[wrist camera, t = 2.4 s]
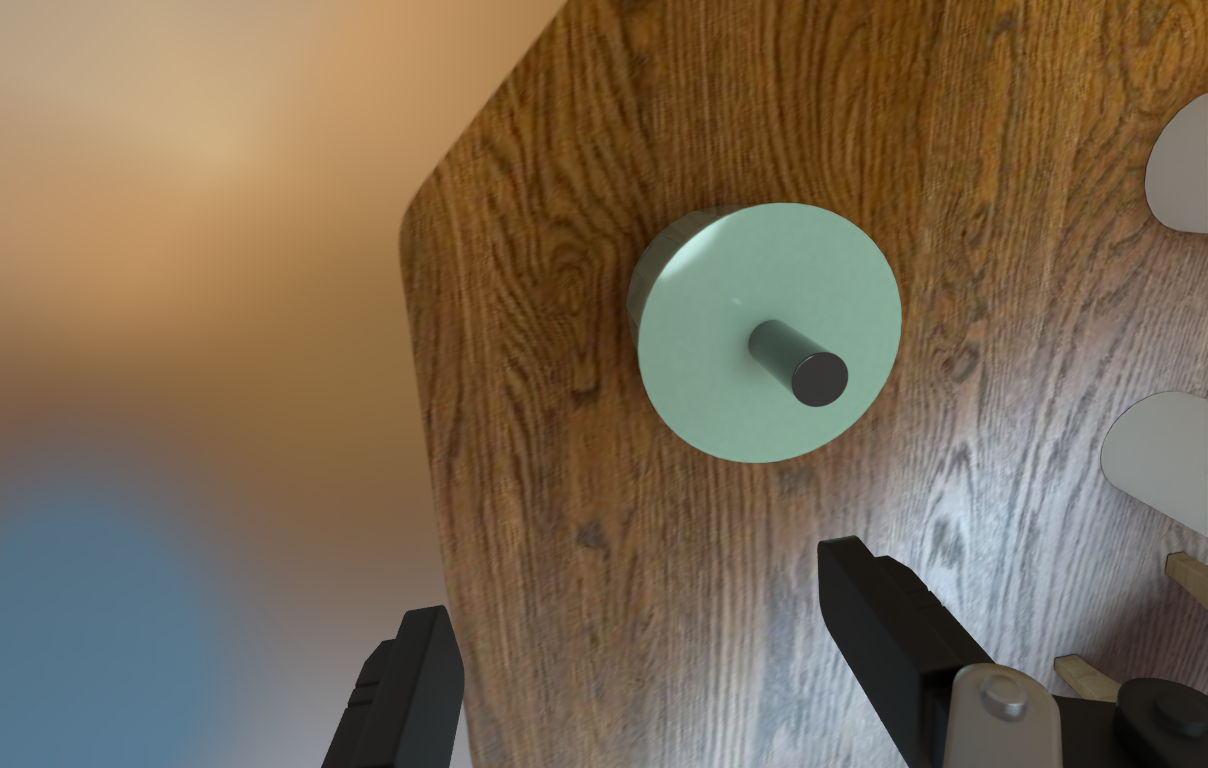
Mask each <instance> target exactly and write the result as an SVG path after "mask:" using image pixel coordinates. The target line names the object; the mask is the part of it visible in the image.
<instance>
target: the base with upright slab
mask: <svg viewBox="0 0 1208 768" xmlns="http://www.w3.org/2000/svg"><path fill="white" fill-rule="evenodd" d="M1145 191H1146V198H1147V202H1148V204H1149V206H1150V209H1151V211H1152V213H1153V215H1154V216H1155V217H1156V218H1157V219H1158V220H1159V221H1160V222H1161V223H1162V224H1163V225H1165V226H1167V227H1169V228H1172V229H1174V230H1176V231H1183V232H1196V233H1208V93H1206V94H1204V95H1201V96H1199V97H1197V98H1196V99H1194V100H1193V101H1192V102H1190V103H1189V104H1188V105H1186V106H1185V107H1184V108H1183V109H1181V110H1180V111H1179V112H1178V113H1177V114H1176V115H1175V116H1174V118H1173V119H1172V120H1171V121H1170V122H1169V123H1168V124H1167V126H1166V127H1165V128H1164V130H1163V131H1162V133H1161V135H1160V136H1159V138H1158V140H1157V141H1156V143H1155V145H1154V147H1153V149H1152V152H1151V155H1150V158H1149V161H1148V164H1147V168H1146V177H1145Z"/></svg>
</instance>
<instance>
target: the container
mask: <svg viewBox="0 0 1208 768" xmlns="http://www.w3.org/2000/svg"><path fill="white" fill-rule="evenodd" d="M1101 465H1102V470H1103V472H1104V475H1105V477H1106V478H1107V480H1108V481H1109V482H1110V483H1111V484H1112V485H1113V486H1115V487H1116V488H1118V489H1120V490H1122V491H1123V492H1125V493H1127V494H1129V495H1131V496H1133V497H1134V498H1136V499H1138V500H1140V501H1142V502H1143V503H1145V504H1147V505H1149V506H1151V507H1153V508H1154V509H1156V510H1158V511H1160V512H1162V513H1163V514H1165V515H1167V516H1169V517H1171V518H1173V519H1174V520H1176V521H1178V522H1180V523H1182V524H1183V525H1185V526H1187V527H1189V528H1191V529H1192V530H1194V531H1196V532H1198V533H1200V534H1202V535H1203V536H1205V537H1207V538H1208V400H1206V399H1203V398H1200V397H1197V396H1195V395H1192V394H1189V393H1185V392H1179V391H1173V392H1163V393H1159V394H1155V395H1153V396H1150V397H1147V398H1145V399H1143V400H1142V401H1140V402H1138V403H1136V404H1135V405H1133V406H1132V407H1131V408H1129V409H1128V410H1127V411H1126V412H1125V413H1124V414H1122V415H1121V416H1120V418H1119V419H1118V420H1117V421H1116V422H1115V423H1114V425H1113V426H1112V428H1111V429H1110V431H1109V433H1108V434H1107V436H1106V439H1105V441H1104V444H1103V448H1102V453H1101Z"/></svg>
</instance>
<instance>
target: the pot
mask: <svg viewBox="0 0 1208 768" xmlns="http://www.w3.org/2000/svg"><path fill="white" fill-rule="evenodd" d="M744 207H748V206H745V205H737V204H728V205H723V206H715V207H708V208H704V209H700V210H695V211H692V212H690V213H689V214H687V215H685V216H683V217H681V218H679V219H677V220H676V221H674V222H673V223H671V224H670V225H669V226H667V227H666V228H664V229H663V230H662V231H661V232H659V233H658V234H657V236H656V237H655V238H654V239H653V240H652V241H651V243H650V244H649V245H648V246H647V247H646V249H645V250H644V252H643V253H642V255H641V257H640V258H639V260H638V262H637V264H636V265H635V268H634V271H633V274H632V277H631V280H630V283H629V289H628V294H627V301H626V309H627V318H628V324H629V328H630V335H631V340H632V343H633V345H634V347H635V349H636V351H637V332H638V325H639V320H640V314H641V310H642V307H643V304H644V301H645V298H646V295H647V293H648V291H649V289H650V287H651V285H652V282H653V280H654V278H655V277H656V275H657V274H658V272H659V271H660V269H661V267H662V266H663V264H664V263H665V262H666V261H667V259H668V258H669V257H670V256H671V254H672V253H673V252H674V251H675V250H676V249H677V248H678V247H679V246H680V245H681V244H682V243H683V242H684V241H685V240H686V239H687V238H688V237H689V236H691V235H692V234H693V233H695V232H696V231H697V230H699V229H700V228H702V227H703V226H704V225H706V224H708V223H709V222H711V221H713V220H715V219H717V218H718V217H720V216H722V215H725V214H727V213H730V212H732V211H735V210H737V209H740V208H744Z"/></svg>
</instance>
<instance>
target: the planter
mask: <svg viewBox="0 0 1208 768" xmlns="http://www.w3.org/2000/svg"><path fill="white" fill-rule="evenodd" d="M1165 573H1166V574H1167V575H1169V576H1170V577H1172V578H1173V579H1174V580H1176V581H1177V582H1178V583H1180V584H1181V585H1182V586H1183V587H1184V588H1185V589H1186V590H1188V591H1189V592H1190V593H1191V594H1192V595H1193V596H1194V597H1195V598H1196V599H1197V600H1198V601H1199V602H1200V603H1201V604H1202V606H1203V607H1204V608H1205V609H1206V610H1207V611H1208V566H1207V565H1205V564H1203V563H1201V562H1200V561H1198V560H1196V559H1195V558H1193V557H1191V556H1190V555H1188V554H1186V553H1185V552H1182V553H1177V554H1172V555H1169V556H1168V560H1167V566H1166V572H1165ZM1055 671H1056V672H1057V673H1058V674H1059V675H1060V676H1061V677H1062V678H1063V679H1064V680H1065V681H1066V682H1067V683H1068V684H1069V685H1070V686H1071V687H1072V688H1073V689H1074V690H1075V691H1076V692H1077V693H1078V694H1079V695H1080V696H1081V697H1082V698H1083V699H1088V700H1097V701H1107V702H1116V700H1117V695H1118V690H1119V689H1120V687H1121V686H1122V684H1120V683H1118V682H1116V681H1114V680H1112V679H1110V678H1109V677H1107V676H1105V675H1104V674H1102V673H1100V672H1099V671H1097V670H1096V669H1094V668H1093V667H1091V666H1090V665H1088V664H1087V663H1086V662H1084V661H1083V660H1082V659H1081V658H1080V657H1078V656H1077V655H1070V656H1065V657H1060V658H1056V660H1055Z"/></svg>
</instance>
